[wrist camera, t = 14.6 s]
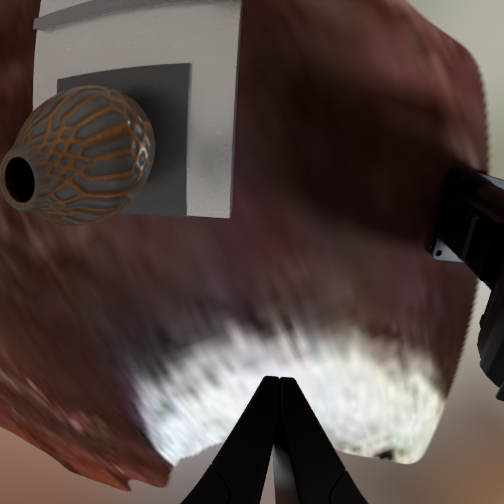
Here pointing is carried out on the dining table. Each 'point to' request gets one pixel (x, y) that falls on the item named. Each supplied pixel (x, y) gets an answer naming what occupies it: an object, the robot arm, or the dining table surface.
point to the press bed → (156, 86)
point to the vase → (79, 156)
